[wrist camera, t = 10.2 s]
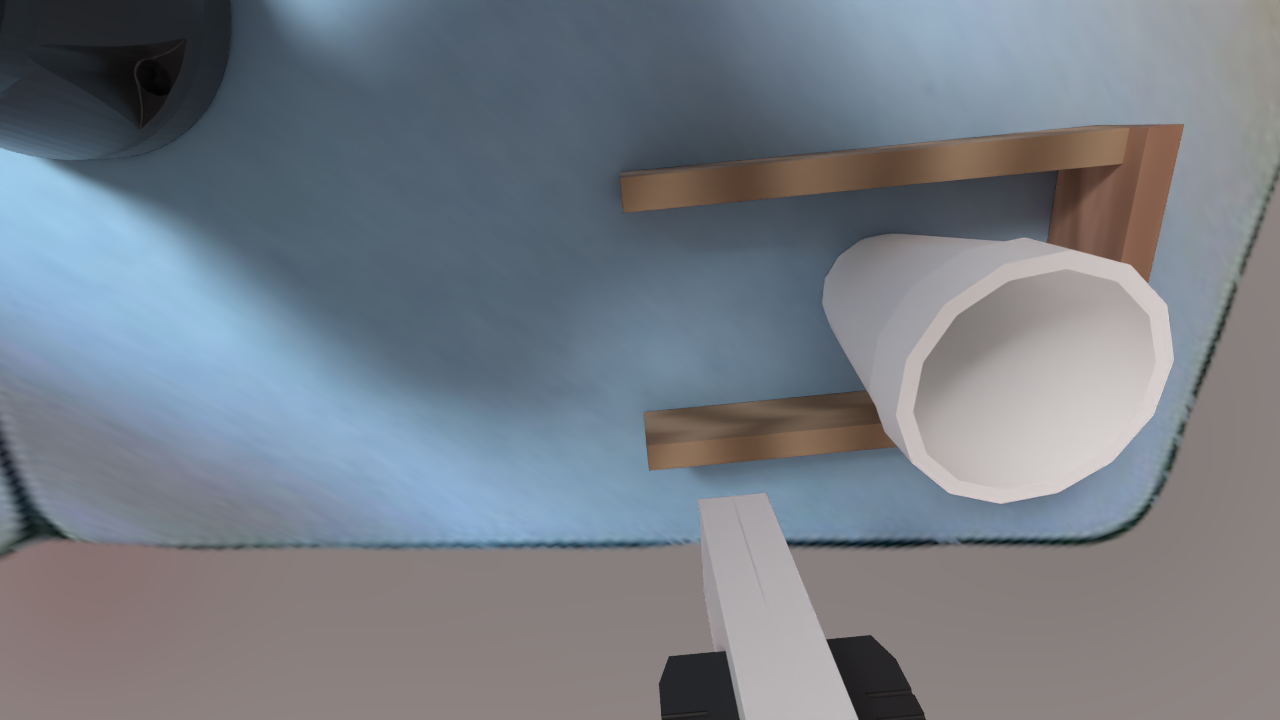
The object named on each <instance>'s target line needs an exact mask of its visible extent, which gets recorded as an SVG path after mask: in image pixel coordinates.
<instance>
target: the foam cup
mask: <svg viewBox="0 0 1280 720" xmlns="http://www.w3.org/2000/svg"><path fill="white" fill-rule="evenodd" d="M822 306H823V308H824V311H825V314H826V317H827V319H828V322H829V325H830V326H831V329H832V331H833V333H834V335H835V336H836V338H837V340H838V341H839V343H840V345H841V347H842V348H843V350H844V352H845V354H846V355H847V357H848V359H849V361H850V362H851V364H852V366H853V368H854V369H855V371H856V373H857V374H858V376H859V378H860V380H861V381H862V383H863V385H864V387H865V388H866V390H867V392H868V394H869V395H870V397H871V399H872V401H873V402H874V404H875V406H876V409H877V412H878V414H879V417H880V420H881V423H882V426H883V429H884V432H885V433H886V434H887V435H888V436H889V437H890V439H891V440H892V441H893V442H894V443H895V444H896V445H897V447H898V448H899V449H900V450H901V451H902V452H903V453H904V455H905V456H906V457H907V458H908V459H909V460H910V461H911V463H913V464H914V465H915V466H916V467H917V468H919V469H920V470H921V471H922V472H924V473H925V474H926V475H927V476H928V477H930V478H931V479H932V480H933V481H935V482H936V483H937V484H938V485H939V486H941V487H942V488H943V489H944V490H946V491H947V492H948V493H949V494H954V495H959V496H964V497H969V498H974V499H979V500H984V501H989V502H994V503H999V504H1003V503H1008V502H1013V501H1019V500H1024V499H1029V498H1034V497H1039V496H1045V495H1050V494H1055V493H1059V492H1061V491H1062V490H1064V489H1066V488H1068V487H1069V486H1071V485H1073V484H1075V483H1076V482H1078V481H1080V480H1081V479H1083V478H1085V477H1087V476H1088V475H1090V474H1092V473H1094V472H1095V471H1097V470H1099V469H1101V468H1102V467H1104V466H1106V465H1108V464H1109V463H1111V462H1113V460H1114V459H1115V458H1116V457H1117V456H1118V455H1119V454H1120V453H1121V451H1122V450H1123V449H1124V448H1125V447H1126V446H1127V445H1128V443H1129V442H1130V441H1131V440H1132V439H1133V438H1134V437H1135V436H1136V434H1137V433H1138V432H1139V431H1140V430H1141V429H1142V428H1143V427H1144V425H1145V424H1146V423H1147V422H1148V421H1149V420H1150V419H1151V418H1152V416H1153V415H1154V413H1155V410H1156V408H1157V405H1158V402H1159V400H1160V397H1161V394H1162V391H1163V389H1164V386H1165V383H1166V381H1167V378H1168V375H1169V372H1170V370H1171V367H1172V364H1173V361H1174V353H1173V345H1172V338H1171V330H1170V323H1169V315H1168V308H1167V304H1166V303H1165V302H1164V301H1163V300H1162V299H1161V298H1160V297H1159V296H1158V294H1157V293H1156V292H1155V291H1154V290H1153V289H1152V288H1151V287H1150V286H1149V284H1148V283H1147V282H1146V281H1145V280H1144V279H1143V278H1142V277H1141V276H1140V275H1139V273H1138V272H1137V271H1136V270H1135V269H1134V268H1133V267H1132V266H1131V265H1129V264H1125V263H1121V262H1118V261H1114V260H1110V259H1106V258H1102V257H1099V256H1095V255H1091V254H1087V253H1083V252H1080V251H1076V250H1072V249H1068V248H1064V247H1060V246H1057V245H1053V244H1049V243H1045V242H1041V241H1037V240H1033V239H1029V238H1026V237H1023V238H1019V239H1014V240H1009V241H991V240H978V239H964V238H951V237H937V236H924V235H910V234H897V233H893V234H890V233H887V234H883V235H878V236H873V237H869V238H864V239H861V240H860V241H859V242H857V243H856V244H854V245H853V246H852V247H850V248H849V249H847V250H846V251H845V252H843V253H842V254H840V255H839V257H838V258H837V260H836V262H835V263H834V265H833V266H832V268H831V270H830V271H829V273H828V275H827V276H826V278H825V282H824V290H823V298H822Z"/></svg>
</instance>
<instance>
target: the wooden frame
mask: <svg viewBox="0 0 1280 720" xmlns="http://www.w3.org/2000/svg"><path fill="white" fill-rule="evenodd" d="M1183 127H1184V124H1167V125H1095V126H1085V127H1075V128H1064V129H1054V130H1044V131H1034V132H1024V133H1014V134H1004V135H994V136H983V137H973V138H963V139H953V140H943V141H933V142H923V143H913V144H902V145H892V146H882V147H872V148H862V149H852V150H842V151H832V152H821V153H811V154H801V155H791V156H781V157H771V158H761V159H751V160H740V161H730V162H720V163H710V164H700V165H690V166H680V167H670V168H659V169H649V170H639V171H629V172H620V186H621V196H622V206H623V213H627V212H637V211H648V210H658V209H668V208H678V207H688V206H698V205H708V204H719V203H729V202H739V201H749V200H759V199H769V198H780V197H790V196H800V195H810V194H820V193H830V192H841V191H851V190H861V189H871V188H881V187H891V186H901V185H912V184H922V183H932V182H942V181H952V180H962V179H973V178H983V177H993V176H1003V175H1013V174H1023V173H1033V172H1044V171H1054V170H1059V171H1058V178H1057V184H1056V190H1055V196H1054V203H1053V209H1052V215H1051V222H1050V228H1049V234H1048V240H1047V243H1049V244H1053V245H1057V246H1060V247H1064V248H1068V249H1072V250H1076V251H1080V252H1083V253H1087V254H1091V255H1095V256H1099V257H1102V258H1106V259H1110V260H1114V261H1118V262H1121V263H1125V264H1129V265H1131V266H1132V267H1133V268H1134V269H1135V270H1136V271H1137V272H1138V273H1139V275H1140V276H1141V277H1142V278H1143V279H1144V280H1145V281H1146V282H1147V283H1148V281H1149V276H1150V272H1151V268H1152V263H1153V259H1154V254H1155V250H1156V246H1157V241H1158V237H1159V232H1160V228H1161V224H1162V219H1163V215H1164V210H1165V206H1166V202H1167V197H1168V193H1169V188H1170V184H1171V180H1172V175H1173V171H1174V166H1175V162H1176V158H1177V153H1178V149H1179V144H1180V140H1181V136H1182V131H1183ZM644 421H645V433H646V445H647V455H648V465H649V471H650V470H661V469H671V468H681V467H692V466H702V465H712V464H723V463H733V462H744V461H754V460H764V459H775V458H785V457H795V456H806V455H816V454H826V453H837V452H847V451H857V450H868V449H878V448H888V447H897V445H896V444H895V443H894V442H893V441H892V440H891V439H890V437H889V436H888V435H887V434H886V433H885V432H884V429H883V426H882V423H881V420H880V417H879V414H878V412H877V409H876V406H875V404H874V402H873V401H872V399H871V397H870V395H869V394H868V392H867V391H856V392H846V393H836V394H826V395H815V396H805V397H795V398H784V399H774V400H764V401H753V402H743V403H733V404H722V405H712V406H702V407H692V408H681V409H671V410H661V411H650V412H644Z"/></svg>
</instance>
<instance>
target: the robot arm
mask: <svg viewBox="0 0 1280 720" xmlns="http://www.w3.org/2000/svg"><path fill="white" fill-rule="evenodd" d="M229 42H230V6H229V0H0V148H3V149H6V150H10V151H13V152H17V153H21V154H25V155H30V156H36V157H42V158H50V159H60V160H89V159H110V158H123V157H130V156H135V155H139V154H144V153H147V152H150V151H153V150H155V149H158V148H160V147H162V146H164V145H166V144H168V143H170V142H172V141H173V140H175V139H176V138H178V137H179V136H181V135H182V134H183V133H184V132H186V131H187V130H188V129H189V128H190V127H191V126H192V125H193V124H194V123H195V122H196V121H197V120H198V119H199V118H200V117H201V115H202V114H203V113H204V112H205V110H206V109H207V107H208V106H209V104H210V103H211V101H212V99H213V97H214V95H215V93H216V91H217V89H218V87H219V84H220V82H221V79H222V76H223V73H224V70H225V66H226V61H227V57H228V50H229ZM698 506H699V521H700V537H701V552H702V568H703V584H704V598H705V603H706V608H707V614H708V619H709V625H710V630H711V636H712V641H713V646H714V652H710V653H699V654H689V655H678V656H669V658H668V660H667V663H666V666H665V669H664V672H663V674H662V677H661V680H660V682H659V690H660V704H661V717H662V720H926V719H925V716H924V712H923V710H922V708H921V706H920V704H919V703H918V701H917V699H916V697H915V695H913V694H912V691H911V687H910V685H909V683H908V682H907V680H906V678H905V676H904V674H903V672H902V670H901V668H900V666H899V664H898V662H897V661H896V659H895V658H894V657H893V656H892V655H891V654H890V653H889V652H888V651H887V650H885V648H884V647H882V646H881V645H880V644H879V643H878V642H877V641H876V640H875V639H874V638H873V637H872V636H871V635H868V636H857V637H847V638H836V639H825V636H824V634H823V631H822V629H821V627H820V624H819V621H818V619H817V617H816V614H815V612H814V609H813V607H812V604H811V602H810V599H809V597H808V594H807V592H806V590H805V587H804V585H803V582H802V580H801V577H800V575H799V572H798V570H797V567H796V565H795V562H794V560H793V558H792V555H791V553H790V550H789V548H788V545H787V543H786V540H785V538H784V535H783V533H782V531H781V528H780V526H779V523H778V521H777V518H776V516H775V513H774V511H773V508H772V506H771V503H770V501H769V499H768V496H767V494H766V493H759V494H749V495H739V496H728V497H718V498H708V499H698Z"/></svg>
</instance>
